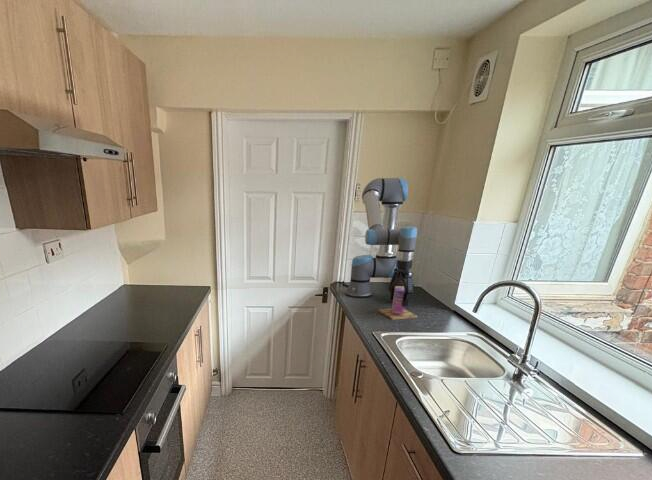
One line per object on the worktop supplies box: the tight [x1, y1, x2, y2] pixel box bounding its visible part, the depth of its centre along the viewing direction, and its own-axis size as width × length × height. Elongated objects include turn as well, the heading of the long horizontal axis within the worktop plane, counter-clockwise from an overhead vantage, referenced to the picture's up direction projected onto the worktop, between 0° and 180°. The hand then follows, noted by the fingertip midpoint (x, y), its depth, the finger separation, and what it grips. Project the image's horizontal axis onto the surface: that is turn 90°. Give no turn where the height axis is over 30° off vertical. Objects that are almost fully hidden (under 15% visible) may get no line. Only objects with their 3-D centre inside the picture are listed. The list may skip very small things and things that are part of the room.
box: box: [391, 286, 405, 314], centre depth 215 cm, size 10×6×12 cm, turn 163°
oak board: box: [377, 307, 419, 321], centre depth 218 cm, size 16×14×1 cm
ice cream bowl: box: [388, 279, 404, 304], centre depth 235 cm, size 11×11×15 cm
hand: (398, 302), depth 216 cm, fingers closed on box, 12 cm apart
